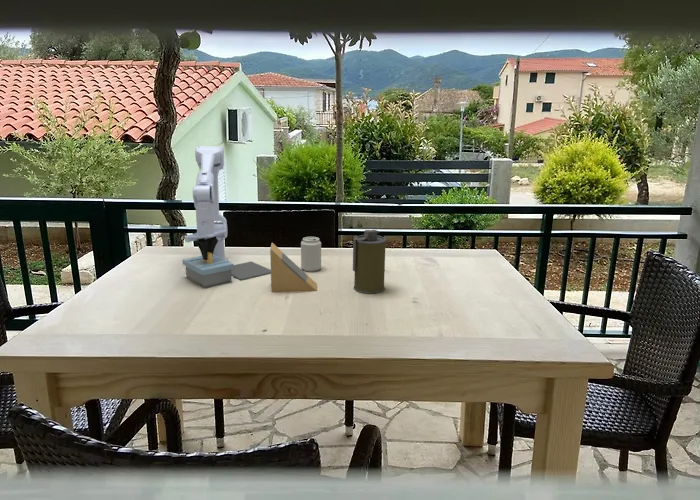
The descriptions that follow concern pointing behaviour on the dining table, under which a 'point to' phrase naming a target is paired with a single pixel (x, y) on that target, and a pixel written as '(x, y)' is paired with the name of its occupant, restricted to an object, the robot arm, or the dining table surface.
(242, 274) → the mat
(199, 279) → the parts tub
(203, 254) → the robot arm
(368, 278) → the canister
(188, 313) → the dining table surface
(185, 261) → the lid
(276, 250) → the sandwich container
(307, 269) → the can
